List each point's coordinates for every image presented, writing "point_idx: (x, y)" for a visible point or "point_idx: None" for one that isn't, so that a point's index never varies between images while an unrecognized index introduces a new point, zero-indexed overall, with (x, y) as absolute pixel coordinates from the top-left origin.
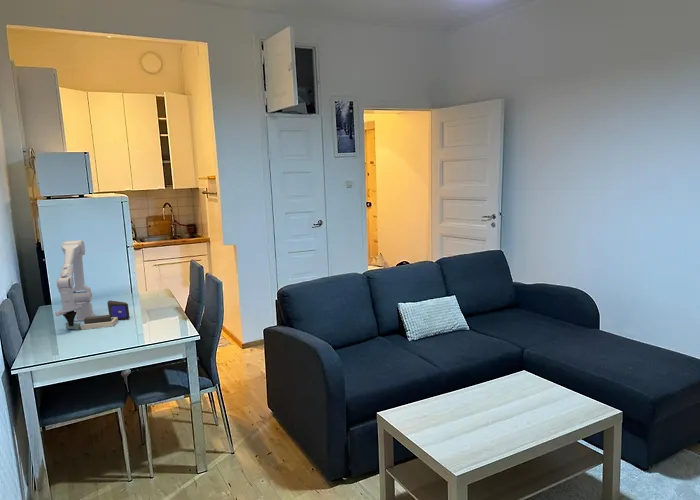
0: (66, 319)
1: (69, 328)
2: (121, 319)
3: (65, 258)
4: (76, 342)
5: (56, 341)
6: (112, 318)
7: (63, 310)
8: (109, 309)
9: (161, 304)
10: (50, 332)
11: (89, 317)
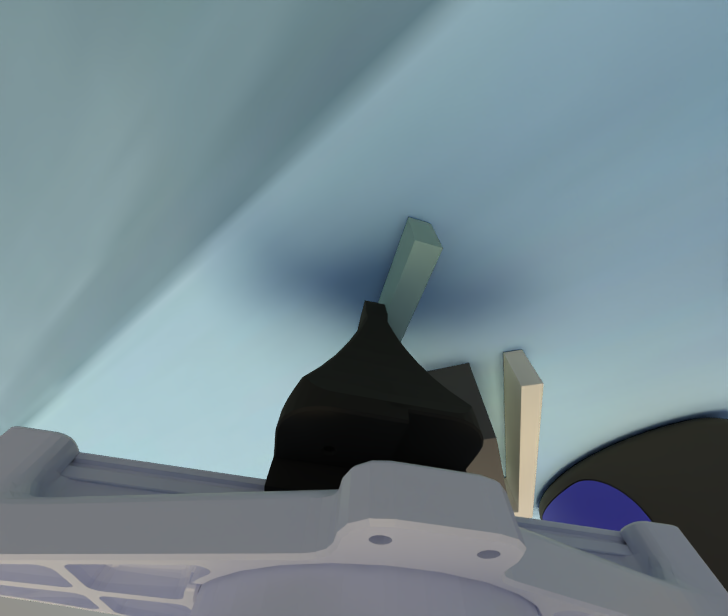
0: (349, 342)
1: (391, 266)
2: (545, 492)
3: None
4: (148, 444)
5: (102, 339)
6: (516, 499)
7: (161, 599)
8: (692, 531)
9: None
10: (287, 49)
11: (477, 464)
